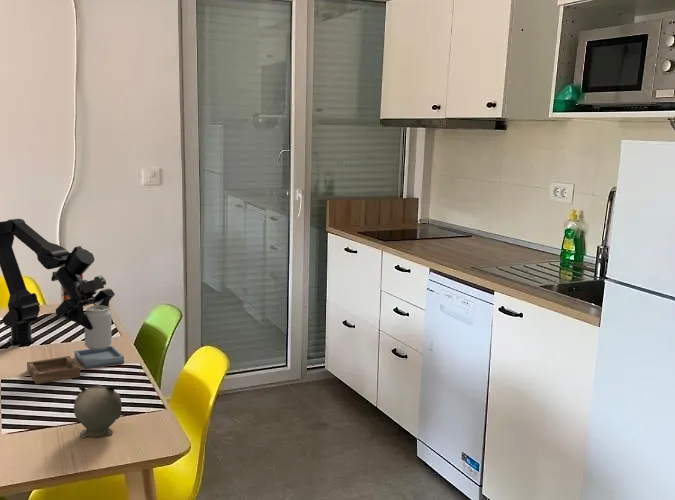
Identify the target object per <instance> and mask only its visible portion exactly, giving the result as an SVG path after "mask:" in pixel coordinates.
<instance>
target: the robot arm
mask: <svg viewBox="0 0 675 500" xmlns="http://www.w3.org/2000/svg"><path fill="white" fill-rule="evenodd" d="M15 237H16V238H17V239H18V240H19V241H20V242H22V243H23V244H24V245H25V246H26V247H28V249H30V250H31V251H32V252H33V253H35V254H36V258H37V260H38V262H39V263H40V264H41V265H42V267H44V269H46V270H53V269H57V270H56V271H52V273H51V274H52V275H51V278H50V279H51V282H55V281H57V282H59V285H60V286H61V285H62V287H63V288H64V290H65V291H66V292H65V293H64V295H65V296H69V297H70V299H68V300H65V301H63V302H62V301H61V303H60V304H59V305H58V306H57V308H56V309H55V315H56V316H57V318H58V319H59V320H61V319H63V318H64V317H65V318H64V319H65V320H69V321H72V322H74V323H76V324H78V325H80V326H82V327H84V329H85V328H87V329H89V330H92V329H93V327H92V325H91V323H90V321H89V320H88V318H87V317H86V315H85V314H84V313H85V312H84V307H87V306H91V305H93V306H97V305H102V306H107V307H109V310H110V301H111V300H112V298H113V297H114V296H115V295H116V294H115V292H114V290H112V288H105V286H106V285H107V281H106V279H105V278H104V276H103V275H102V274H100V275H97V276H94V279H91V280H89V281H88V279H83V280H82V279H81V277H80V276H79V275H82V274H85V272H86V271H88V269H89V268H90V267H91V266H92V264H93V263H94V262H95V256H94V254H93V253H92V252H90V251H89V250H87V249H86V248H85V249H84V248H83V247H82V246H81V245H79V246H78V245H77V246H75V247H74V248H72V251H71V252H69V251H68V250H67V249H66V248H65V247H62V246H61V245H59V244H58V243H57V244H56V243H52V242H50V241H48V240H46V238H44V237H43V236H42V235H40V233H38V232H37V231H36V230H34V228H32V227H31V226H30V225H28V224H27V223H26V221H25V220H24V219H22V218H11V219H8V220H5V221H4V220H3V221H0V270H1V272H2V273H1V274H2V275H3V278H4V282H5V284H6V288H7V290H8V292H9V298H8V303H7V308H8V311H7V312H6V313H5V315H4V316H3V317H2V321H3V325H5V326H8V327H10V333H11V334H10V338H8V342H9V343H10V344H11V346H18V345H25V344H26V345H27V344H33V343H35V340H34V339H33V337H32V324H31V323H32V322H33V323H34V322H37V321H38V316H39V313H40V311H41V308H40V305H41V303H40V302H39V300H38V297H37V296H38V295H37V293H35V292H33V293H32V292H30V291H29V290H28V288H27V287H26V283H25V281H24V277H23V276H22V273H21V269H20V267H19V264H18V260H17V258H16V254H15V253H14V248H13V244H14V240H15ZM98 290H100V291H98ZM97 291H98V293H97ZM112 322H113V319H112V317H111V323H112Z"/></svg>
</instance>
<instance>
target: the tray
mask: <svg viewBox="0 0 675 500" xmlns="http://www.w3.org/2000/svg"><path fill="white" fill-rule="evenodd" d="M74 359H75V360H76V361H77V362H78V363H79V364H80V366H82V367H83V369H84V370H89V369H95V368H100V367H107V366H113V365H119V364H124V363H125V356H124V355H123V354H122V353H121V352H120V351H119V350H118V349H116V348H115V347H114V345H109V346H108V347H107V348H105V349H100V350H93V349H89V348H86V349H79V350H74Z"/></svg>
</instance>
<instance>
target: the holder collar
mask: <svg viewBox="0 0 675 500" xmlns="http://www.w3.org/2000/svg"><path fill="white" fill-rule="evenodd" d="M63 367H66V368H65V369H64V368H63ZM55 368H56V369H58V368H63V369H59V370H51V371H46V372H41V373H40V372H39V371H44V370H50V369H55ZM26 371H27V373H28V374H29V376H30V377H31V378H32V380H33V381H34V383H35V385H40V384H47V383H53V382H57V381H58V380H59V381H63V379H65V380H70V379H74V378H80V377H81V368H80V366H79V365H78V364H77V363H76V362H75V361H74V359H73V358H71V356H70V355H68V356H62V357H61V356H60V357H54V358H47V359H42V360H41V359H40V360H35V361H28V362H26ZM52 381H53V382H52Z"/></svg>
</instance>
